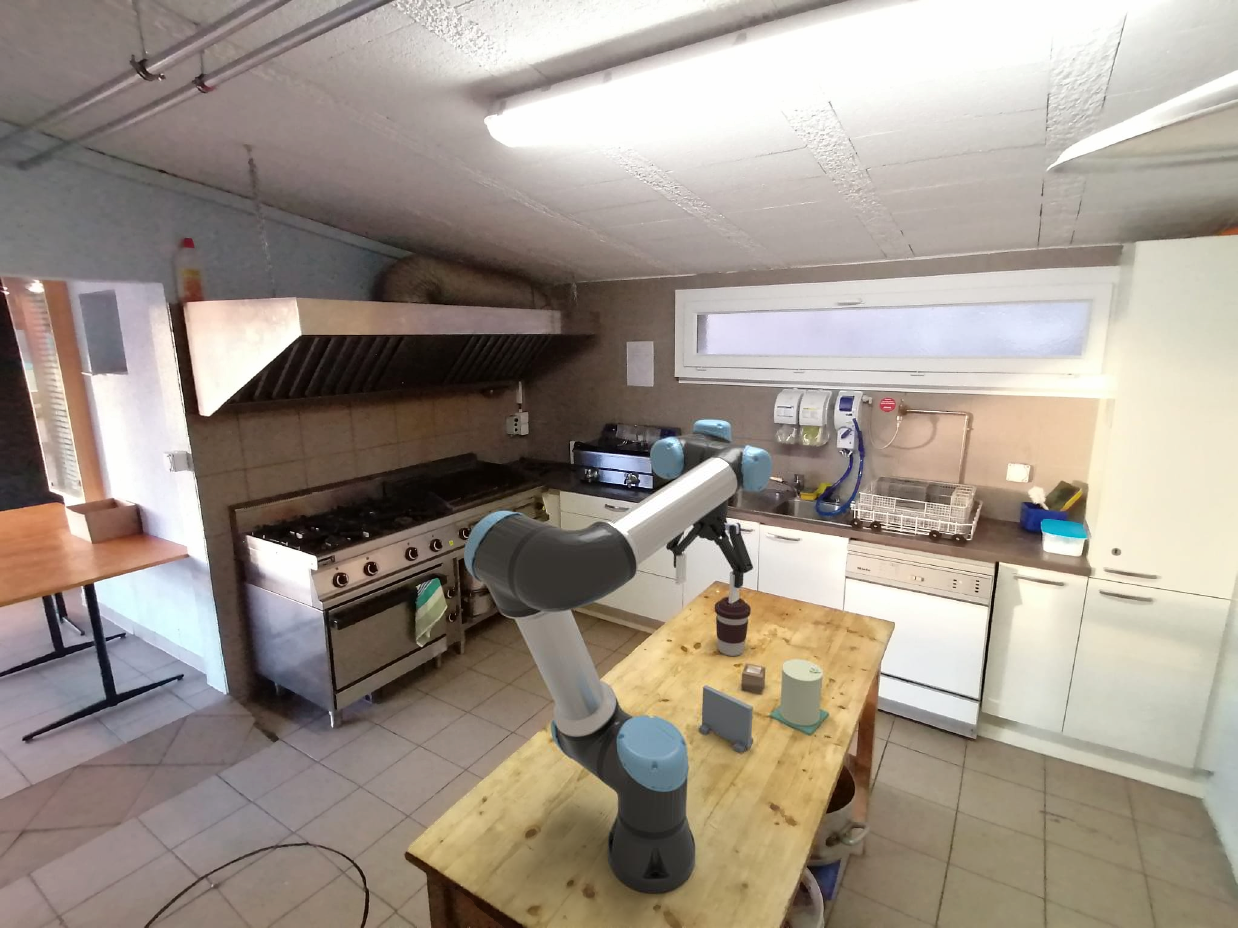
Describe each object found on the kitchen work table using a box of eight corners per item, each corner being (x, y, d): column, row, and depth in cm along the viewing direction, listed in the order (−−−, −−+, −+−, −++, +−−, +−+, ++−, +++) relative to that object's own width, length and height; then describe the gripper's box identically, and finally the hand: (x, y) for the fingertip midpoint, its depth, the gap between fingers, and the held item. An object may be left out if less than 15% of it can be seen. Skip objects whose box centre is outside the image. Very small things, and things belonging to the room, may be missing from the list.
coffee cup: (753, 647, 170) (756, 598, 167) (740, 662, 162) (743, 612, 159) (721, 637, 175) (723, 590, 172) (707, 652, 167) (709, 603, 164)
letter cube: (761, 695, 148) (762, 676, 146) (741, 690, 149) (742, 672, 148) (764, 684, 152) (765, 666, 151) (745, 680, 154) (745, 662, 153)
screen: (743, 754, 127) (745, 713, 124) (696, 729, 134) (698, 690, 132) (755, 742, 130) (757, 702, 128) (709, 719, 138) (710, 681, 136)
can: (822, 728, 134) (826, 681, 131) (780, 723, 136) (783, 676, 133) (817, 704, 143) (820, 659, 140) (777, 699, 145) (780, 655, 142)
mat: (810, 735, 133) (810, 733, 132) (769, 716, 139) (770, 714, 139) (828, 714, 140) (828, 712, 140) (789, 697, 146) (789, 695, 146)
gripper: (773, 503, 116) (767, 603, 120) (672, 482, 133) (670, 570, 137) (754, 511, 111) (748, 615, 115) (651, 488, 127) (650, 580, 132)
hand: (706, 591), depth 126 cm, fingers open, 13 cm apart
